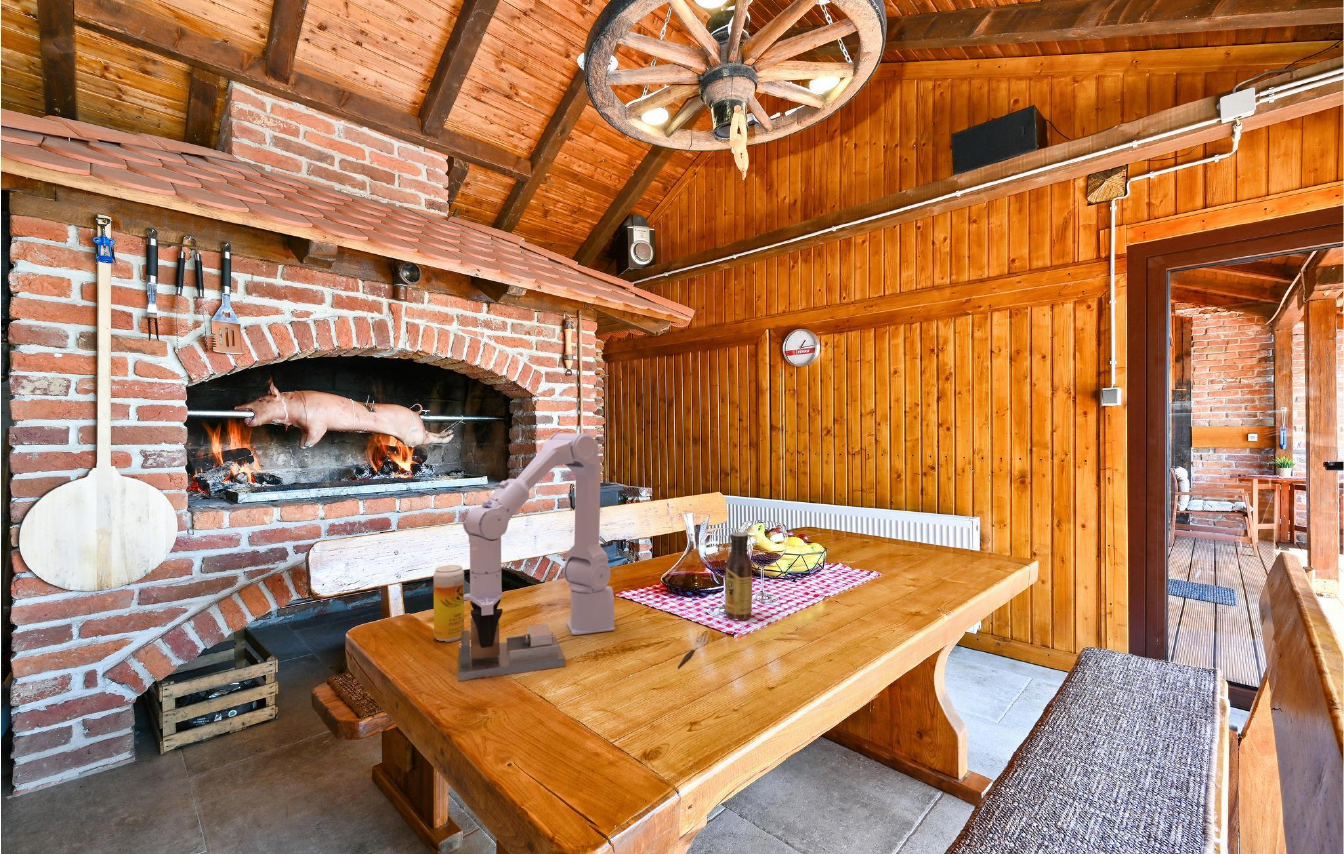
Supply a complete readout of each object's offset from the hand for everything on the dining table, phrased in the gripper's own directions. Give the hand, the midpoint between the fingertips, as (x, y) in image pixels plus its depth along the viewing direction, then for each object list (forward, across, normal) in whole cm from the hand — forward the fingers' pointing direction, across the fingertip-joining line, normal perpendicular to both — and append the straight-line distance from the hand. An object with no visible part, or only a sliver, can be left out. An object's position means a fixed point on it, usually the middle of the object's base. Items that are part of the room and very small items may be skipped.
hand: (486, 641), depth 114 cm
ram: (+3, 0, +10) cm, 10 cm away
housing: (+2, 0, 0) cm, 2 cm away
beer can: (+5, -17, -7) cm, 19 cm away
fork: (+5, +8, +39) cm, 40 cm away
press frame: (+4, 0, +4) cm, 6 cm away
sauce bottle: (+5, -8, +57) cm, 58 cm away
